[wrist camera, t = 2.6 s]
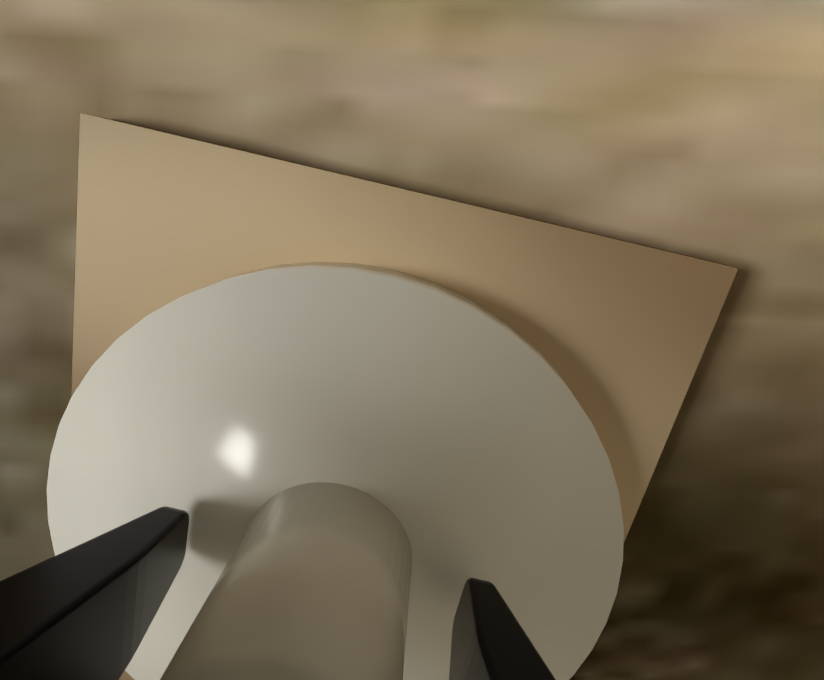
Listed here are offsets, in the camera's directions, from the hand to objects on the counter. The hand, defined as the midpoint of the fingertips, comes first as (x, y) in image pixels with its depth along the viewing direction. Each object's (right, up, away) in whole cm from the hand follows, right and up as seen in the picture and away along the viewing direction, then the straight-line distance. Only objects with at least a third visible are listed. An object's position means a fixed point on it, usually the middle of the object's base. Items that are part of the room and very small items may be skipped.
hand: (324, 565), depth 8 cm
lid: (0, 0, +1) cm, 1 cm away
